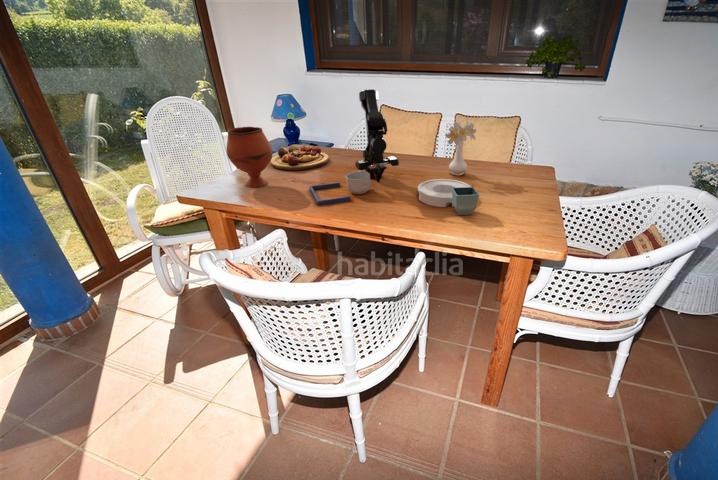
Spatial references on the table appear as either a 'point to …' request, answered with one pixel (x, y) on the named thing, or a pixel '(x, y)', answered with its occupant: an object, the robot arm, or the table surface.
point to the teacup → (358, 182)
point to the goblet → (249, 152)
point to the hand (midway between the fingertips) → (377, 181)
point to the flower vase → (459, 145)
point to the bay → (327, 201)
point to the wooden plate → (299, 158)
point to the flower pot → (465, 200)
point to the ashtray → (438, 191)
